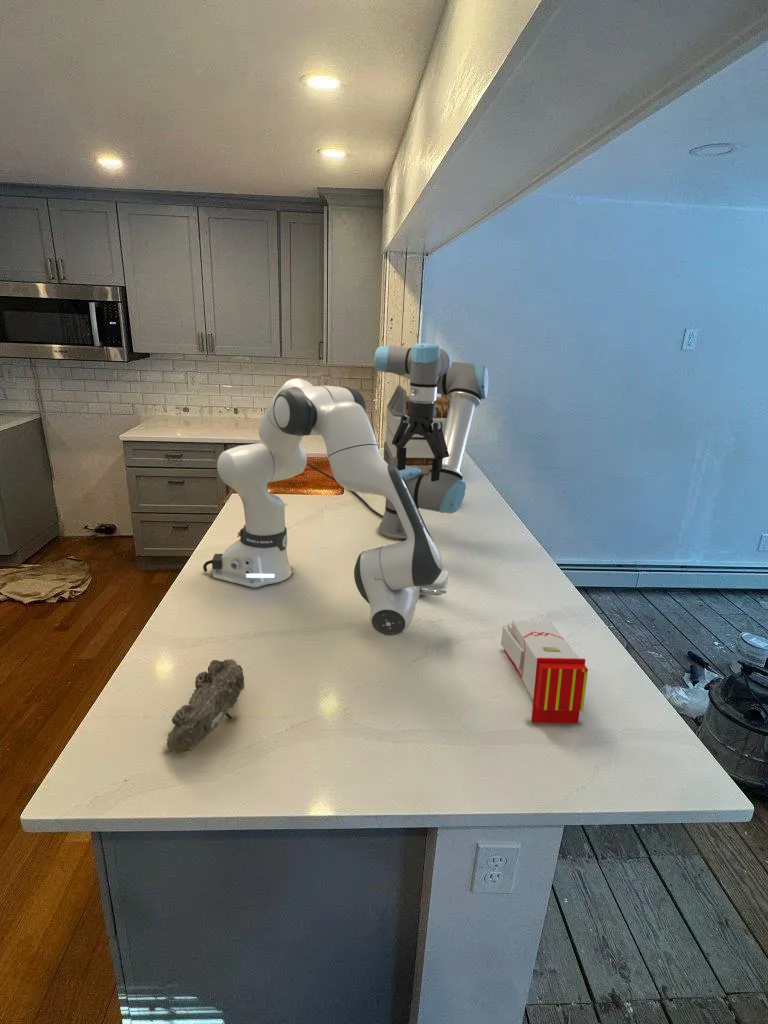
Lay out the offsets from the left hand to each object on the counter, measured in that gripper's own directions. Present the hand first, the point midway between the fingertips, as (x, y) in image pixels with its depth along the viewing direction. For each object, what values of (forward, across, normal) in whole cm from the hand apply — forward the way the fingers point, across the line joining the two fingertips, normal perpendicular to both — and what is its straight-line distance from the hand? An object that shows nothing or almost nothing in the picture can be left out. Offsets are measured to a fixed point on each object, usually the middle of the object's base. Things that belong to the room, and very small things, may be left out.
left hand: (410, 563), depth 143 cm
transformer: (+134, +15, +16) cm, 136 cm away
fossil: (-48, +30, +15) cm, 59 cm away
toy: (-21, -32, +14) cm, 40 cm away
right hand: (+29, +3, -15) cm, 32 cm away
